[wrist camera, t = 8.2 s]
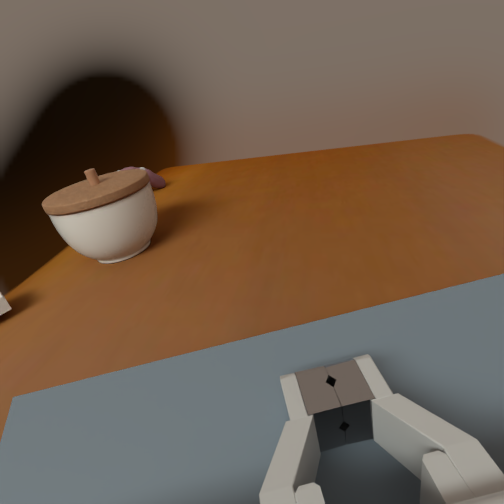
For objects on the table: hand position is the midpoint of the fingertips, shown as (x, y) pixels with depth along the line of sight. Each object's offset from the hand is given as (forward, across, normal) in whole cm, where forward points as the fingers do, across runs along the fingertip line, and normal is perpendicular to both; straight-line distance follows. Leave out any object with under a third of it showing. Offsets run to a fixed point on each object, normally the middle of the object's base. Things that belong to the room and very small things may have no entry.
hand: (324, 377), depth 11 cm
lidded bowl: (+35, -18, -8) cm, 40 cm away
